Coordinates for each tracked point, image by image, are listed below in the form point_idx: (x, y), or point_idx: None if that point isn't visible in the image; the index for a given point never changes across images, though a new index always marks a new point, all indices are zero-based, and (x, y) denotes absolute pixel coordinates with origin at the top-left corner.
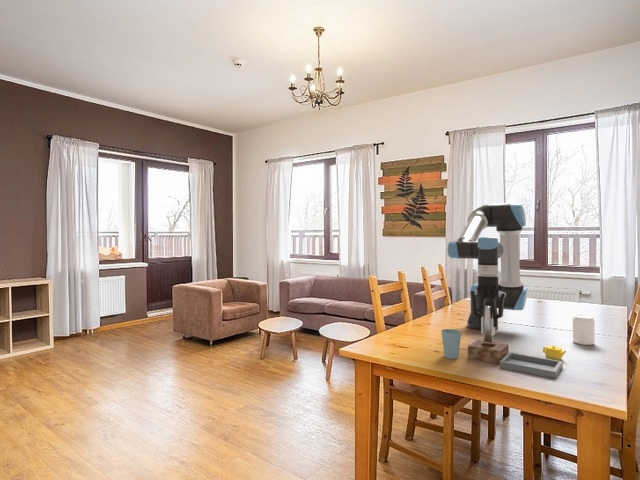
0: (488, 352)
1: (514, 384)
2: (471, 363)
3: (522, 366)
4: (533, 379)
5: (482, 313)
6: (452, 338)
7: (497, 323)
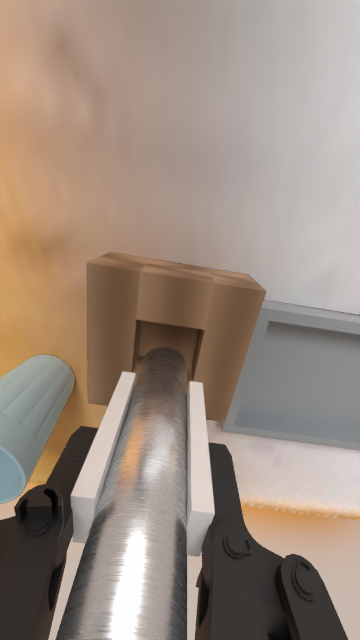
0: None
1: (256, 495)
2: None
3: (292, 438)
4: (306, 457)
5: (43, 560)
6: (19, 474)
7: (232, 479)
